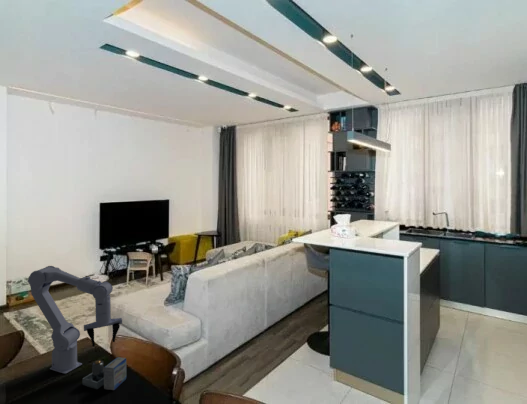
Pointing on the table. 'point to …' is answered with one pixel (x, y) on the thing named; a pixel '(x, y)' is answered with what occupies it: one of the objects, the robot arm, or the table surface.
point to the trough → (92, 382)
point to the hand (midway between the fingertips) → (103, 343)
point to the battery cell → (97, 370)
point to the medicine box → (115, 373)
